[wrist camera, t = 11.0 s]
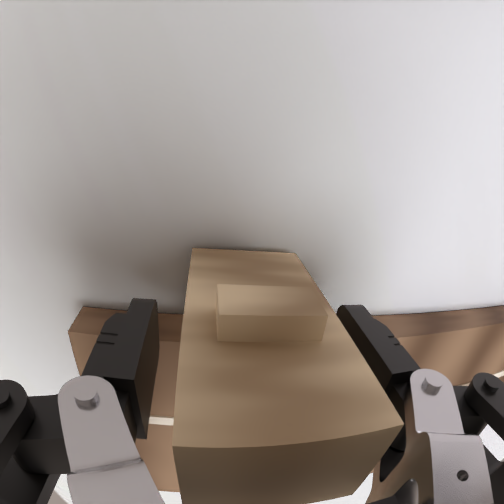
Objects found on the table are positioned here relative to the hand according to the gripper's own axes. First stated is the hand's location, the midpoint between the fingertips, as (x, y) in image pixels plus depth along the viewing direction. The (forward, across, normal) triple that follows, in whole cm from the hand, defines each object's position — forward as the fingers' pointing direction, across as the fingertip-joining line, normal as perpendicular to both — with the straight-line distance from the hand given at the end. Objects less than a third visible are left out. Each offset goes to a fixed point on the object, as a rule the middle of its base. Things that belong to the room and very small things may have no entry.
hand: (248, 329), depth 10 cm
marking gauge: (+3, 0, +3) cm, 4 cm away
